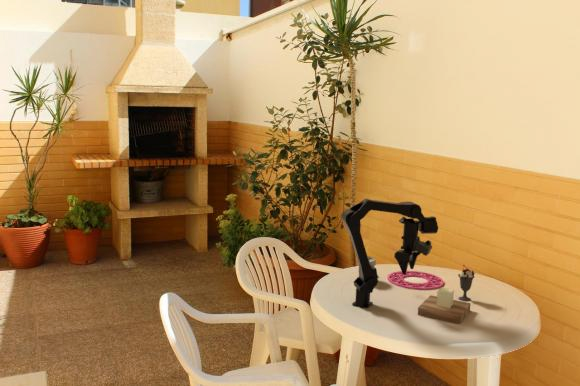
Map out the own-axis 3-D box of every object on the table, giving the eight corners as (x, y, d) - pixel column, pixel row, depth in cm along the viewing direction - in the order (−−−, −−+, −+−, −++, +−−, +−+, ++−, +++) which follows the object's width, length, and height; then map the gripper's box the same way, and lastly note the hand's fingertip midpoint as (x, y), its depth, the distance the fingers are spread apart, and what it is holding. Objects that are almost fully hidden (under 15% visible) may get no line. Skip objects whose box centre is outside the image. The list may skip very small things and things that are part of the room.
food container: (376, 284, 251) (378, 263, 249) (362, 284, 251) (363, 262, 249) (373, 276, 263) (374, 255, 261) (360, 275, 263) (361, 255, 261)
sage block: (449, 308, 216) (450, 293, 215) (436, 305, 219) (437, 290, 218) (452, 304, 220) (454, 289, 219) (440, 301, 223) (441, 287, 222)
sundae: (454, 300, 234) (457, 265, 232) (458, 295, 240) (460, 261, 238) (471, 303, 231) (474, 267, 229) (474, 298, 237) (477, 263, 235)
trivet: (395, 290, 245) (395, 288, 245) (381, 272, 270) (381, 270, 270) (451, 290, 247) (451, 288, 247) (433, 272, 272) (433, 270, 271)
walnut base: (459, 323, 209) (460, 316, 209) (417, 314, 217) (418, 307, 217) (470, 310, 223) (470, 303, 222) (429, 302, 231) (430, 295, 230)
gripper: (423, 241, 213) (420, 281, 216) (437, 232, 229) (434, 269, 232) (395, 237, 219) (392, 276, 221) (410, 228, 234) (408, 264, 237)
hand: (408, 271), depth 228 cm, fingers open, 9 cm apart
